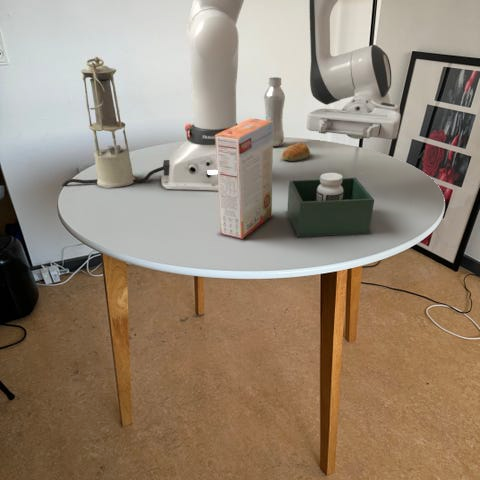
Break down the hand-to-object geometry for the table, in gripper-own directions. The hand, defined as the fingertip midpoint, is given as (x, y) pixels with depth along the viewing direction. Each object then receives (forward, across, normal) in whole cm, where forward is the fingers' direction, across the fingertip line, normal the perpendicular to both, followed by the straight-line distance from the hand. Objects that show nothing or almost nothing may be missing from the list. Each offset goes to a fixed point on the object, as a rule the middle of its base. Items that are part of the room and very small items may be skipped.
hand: (343, 131), depth 97 cm
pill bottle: (+6, 0, +18) cm, 19 cm away
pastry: (-36, -23, +18) cm, 46 cm away
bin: (+6, 0, +18) cm, 19 cm away
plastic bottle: (-45, -34, +18) cm, 59 cm away
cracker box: (+15, -16, +18) cm, 28 cm away
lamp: (+6, -60, +18) cm, 63 cm away
